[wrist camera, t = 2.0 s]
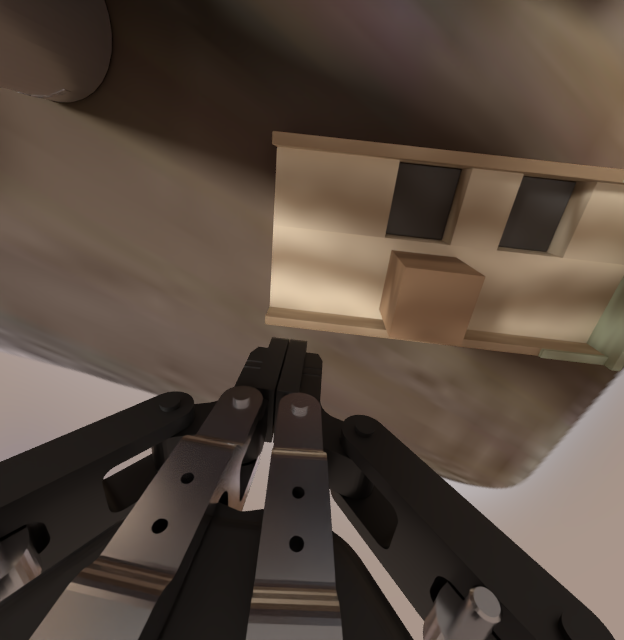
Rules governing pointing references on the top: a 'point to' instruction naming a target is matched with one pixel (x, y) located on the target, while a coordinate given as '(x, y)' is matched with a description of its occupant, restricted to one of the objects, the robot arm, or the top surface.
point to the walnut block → (429, 297)
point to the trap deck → (451, 242)
